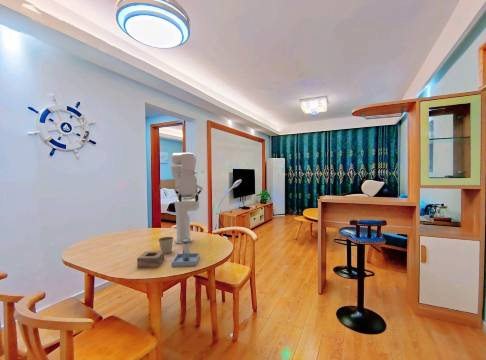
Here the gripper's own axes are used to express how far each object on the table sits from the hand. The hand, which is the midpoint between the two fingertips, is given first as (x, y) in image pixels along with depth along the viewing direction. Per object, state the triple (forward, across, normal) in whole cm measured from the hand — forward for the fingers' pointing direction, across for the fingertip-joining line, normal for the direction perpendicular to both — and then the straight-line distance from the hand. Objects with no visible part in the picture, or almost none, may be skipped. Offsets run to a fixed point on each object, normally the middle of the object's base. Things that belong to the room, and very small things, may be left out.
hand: (188, 201), depth 138 cm
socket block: (+33, +19, +11) cm, 40 cm away
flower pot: (+33, +16, -7) cm, 38 cm away
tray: (+33, 0, +10) cm, 34 cm away
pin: (+32, 0, +10) cm, 34 cm away
